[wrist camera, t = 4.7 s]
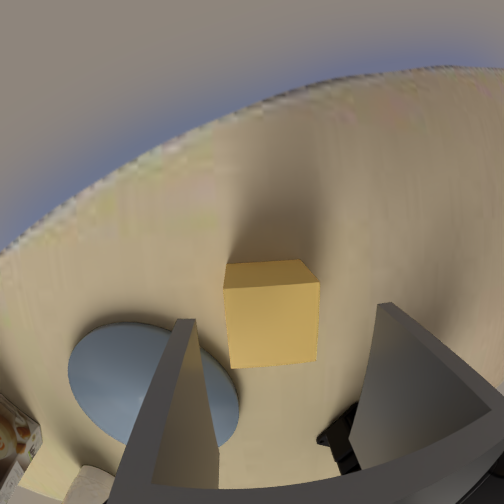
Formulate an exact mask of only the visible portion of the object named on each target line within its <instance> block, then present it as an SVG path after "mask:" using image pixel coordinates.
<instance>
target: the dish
mask: <svg viewBox="0 0 504 504" xmlns="http://www.w3.org/2000/svg"><path fill="white" fill-rule="evenodd" d="M171 333H172V332H171V331H169V330H166V329H163V328H160V327H156V326H153V325H149V324H143V323H136V322H118V323H111V324H107V325H103V326H100V327H98V328H96V329H94V330H92V331H91V332H89V333H88V334H87V335H86V336H85V337H84V338H83V339H82V340H81V341H80V342H79V343H78V344H77V345H76V347H75V348H74V350H73V351H72V353H71V356H70V358H69V363H68V378H69V383H70V386H71V389H72V392H73V394H74V396H75V399H76V400H77V402H78V404H79V405H80V407H81V408H82V410H83V411H84V412H85V414H86V415H87V416H88V417H89V418H90V419H91V420H92V421H93V422H94V423H95V424H96V425H97V426H98V427H99V428H100V429H102V430H103V431H104V432H105V433H107V434H108V435H110V436H111V437H113V438H114V439H116V440H118V441H119V442H121V443H123V444H125V445H127V442H128V440H129V437H130V434H131V432H132V429H133V426H134V424H135V421H136V418H137V416H138V413H139V411H140V408H141V405H142V403H143V400H144V398H145V395H146V393H147V390H148V388H149V385H150V383H151V380H152V378H153V375H154V373H155V371H156V368H157V366H158V363H159V361H160V359H161V356H162V354H163V351H164V349H165V347H166V344H167V342H168V340H169V337H170V335H171ZM199 347H200V346H199ZM200 354H201V360H202V366H203V372H204V378H205V384H206V390H207V395H208V401H209V406H210V411H211V416H212V421H213V426H214V431H215V435H216V440H217V444H218V447H220V446H221V445H223V444H224V443H225V442H226V441H227V440H228V439H229V438H230V437H231V436H232V434H233V433H234V431H235V429H236V427H237V424H238V418H239V403H238V395H237V391H236V388H235V386H234V384H233V382H232V380H231V378H230V376H229V375H228V373H227V372H226V370H225V369H224V368H223V367H222V366H221V365H220V363H219V362H218V361H217V360H216V359H214V358H213V357H212V356H211V355H210V354H209V353H208V352H206V351H205V350H204V349H202V348H201V347H200Z"/></svg>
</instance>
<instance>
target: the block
mask: <svg viewBox="0 0 504 504" xmlns="http://www.w3.org/2000/svg"><path fill="white" fill-rule="evenodd" d="M223 294H224V305H225V316H226V326H227V336H228V346H229V355H230V364H231V369H236V368H253V367H266V366H277V365H287V364H296V363H305V362H312V361H316V354H317V339H318V322H319V300H320V282H319V280H318V279H317V278H316V277H315V276H314V275H313V274H312V272H311V271H310V270H309V269H308V268H307V267H306V266H305V265H304V263H303V262H302V261H301V260H300V259H298V260H282V261H267V262H251V263H234V264H227V265H226V272H225V279H224V286H223Z"/></svg>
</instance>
